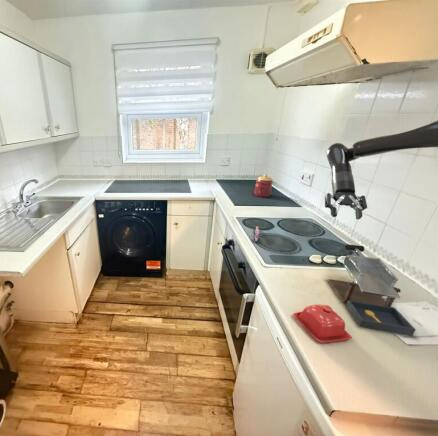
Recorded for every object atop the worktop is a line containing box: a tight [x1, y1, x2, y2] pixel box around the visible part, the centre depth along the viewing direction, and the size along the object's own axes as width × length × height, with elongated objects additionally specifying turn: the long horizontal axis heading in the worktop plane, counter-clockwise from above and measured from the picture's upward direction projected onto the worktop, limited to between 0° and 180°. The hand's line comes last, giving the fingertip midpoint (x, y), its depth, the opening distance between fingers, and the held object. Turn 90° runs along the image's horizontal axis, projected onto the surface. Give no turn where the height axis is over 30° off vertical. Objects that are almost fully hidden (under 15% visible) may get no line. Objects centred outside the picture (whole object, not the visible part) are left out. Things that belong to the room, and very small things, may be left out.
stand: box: [327, 278, 402, 307], centre depth 85 cm, size 13×14×9 cm
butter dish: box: [292, 304, 353, 344], centre depth 71 cm, size 12×12×8 cm
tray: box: [345, 300, 416, 337], centre depth 76 cm, size 13×9×2 cm
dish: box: [342, 243, 401, 299], centre depth 84 cm, size 22×10×5 cm, turn 164°
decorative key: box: [253, 225, 260, 243], centre depth 130 cm, size 7×1×20 cm
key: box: [365, 310, 382, 323], centre depth 76 cm, size 6×3×1 cm, turn 178°
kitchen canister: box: [253, 174, 274, 198], centre depth 197 cm, size 13×13×18 cm
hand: (346, 217), depth 98 cm, fingers open, 8 cm apart
